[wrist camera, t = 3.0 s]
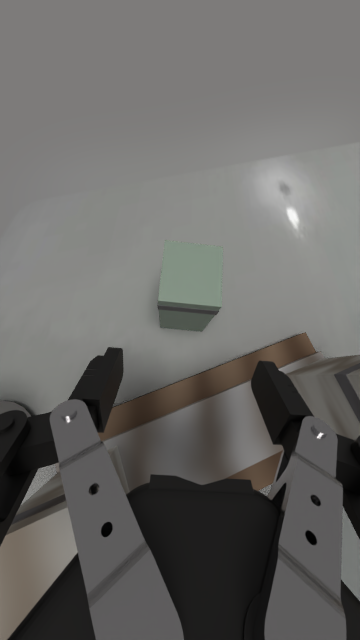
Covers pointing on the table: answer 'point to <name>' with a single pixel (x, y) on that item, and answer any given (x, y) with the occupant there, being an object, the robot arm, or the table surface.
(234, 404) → the wooden block stand
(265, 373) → the robot arm
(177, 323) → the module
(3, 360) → the table surface
